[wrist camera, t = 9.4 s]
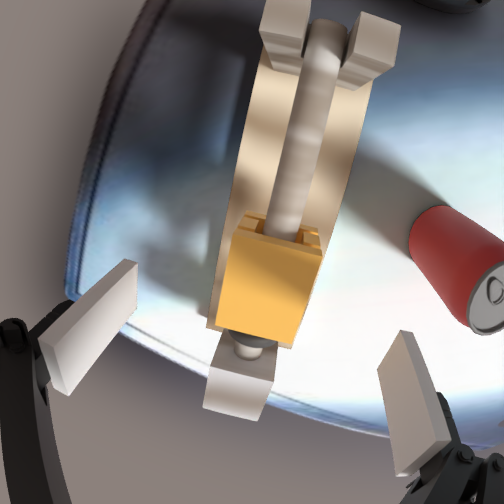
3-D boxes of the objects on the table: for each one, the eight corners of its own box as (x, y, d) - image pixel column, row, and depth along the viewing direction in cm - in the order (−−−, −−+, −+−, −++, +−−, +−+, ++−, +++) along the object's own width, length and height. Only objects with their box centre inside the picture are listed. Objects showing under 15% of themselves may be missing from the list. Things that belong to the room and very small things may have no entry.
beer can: (444, 189, 24) (521, 232, 13) (472, 241, 25) (540, 300, 14) (393, 232, 26) (446, 300, 15) (425, 280, 27) (476, 357, 16)
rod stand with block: (268, 38, 21) (245, -25, 10) (372, 65, 21) (426, 23, 10) (209, 319, 32) (172, 403, 21) (291, 340, 32) (285, 431, 21)
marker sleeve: (246, 210, 20) (232, 233, 16) (317, 228, 20) (322, 256, 16) (230, 287, 23) (214, 325, 18) (293, 303, 23) (291, 344, 18)
